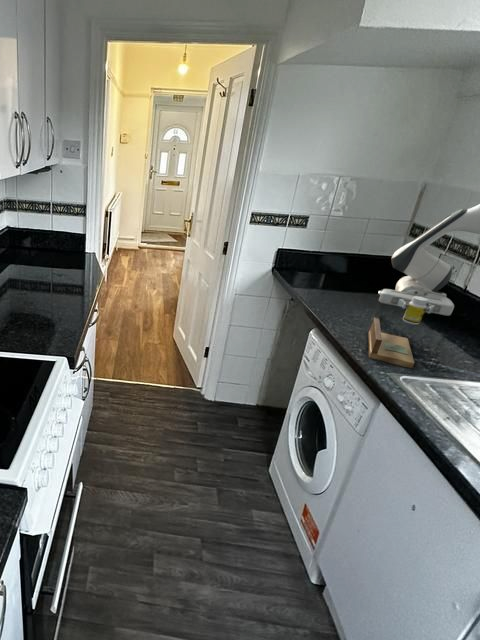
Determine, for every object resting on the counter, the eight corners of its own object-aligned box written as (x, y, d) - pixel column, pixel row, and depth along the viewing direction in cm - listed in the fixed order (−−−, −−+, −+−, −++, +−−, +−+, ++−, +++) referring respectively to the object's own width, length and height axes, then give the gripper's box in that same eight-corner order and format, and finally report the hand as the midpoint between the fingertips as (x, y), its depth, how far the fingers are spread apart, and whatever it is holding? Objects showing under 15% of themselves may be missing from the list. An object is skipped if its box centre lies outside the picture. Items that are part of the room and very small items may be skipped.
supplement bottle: (420, 326, 134) (430, 302, 130) (402, 322, 136) (412, 298, 132) (418, 321, 137) (428, 297, 134) (401, 317, 139) (411, 294, 136)
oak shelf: (405, 343, 149) (412, 325, 146) (412, 368, 131) (420, 349, 129) (367, 334, 154) (373, 317, 152) (368, 357, 137) (375, 339, 134)
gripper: (380, 282, 148) (382, 292, 137) (451, 294, 139) (459, 307, 128) (375, 298, 151) (376, 310, 140) (444, 311, 142) (451, 325, 131)
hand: (417, 308), depth 134 cm, fingers closed on supplement bottle, 5 cm apart
